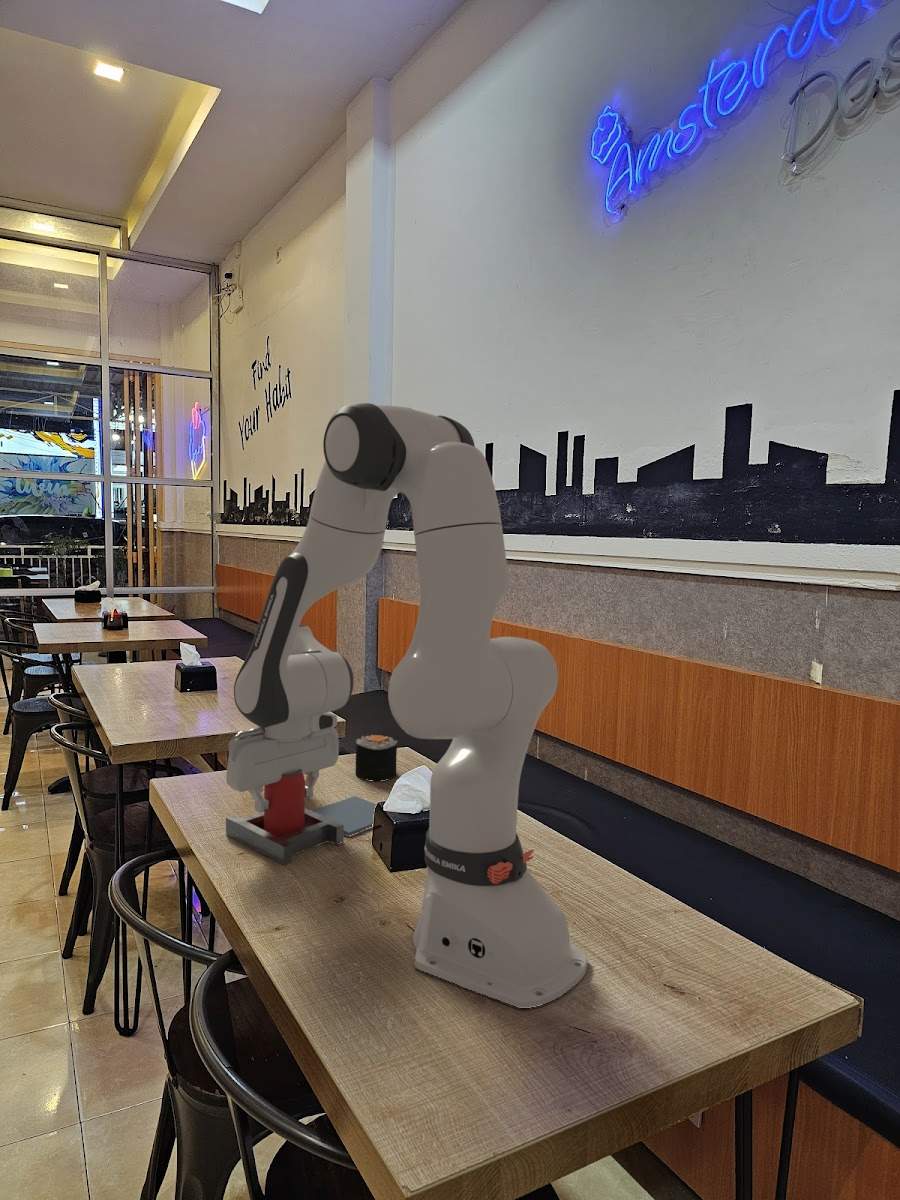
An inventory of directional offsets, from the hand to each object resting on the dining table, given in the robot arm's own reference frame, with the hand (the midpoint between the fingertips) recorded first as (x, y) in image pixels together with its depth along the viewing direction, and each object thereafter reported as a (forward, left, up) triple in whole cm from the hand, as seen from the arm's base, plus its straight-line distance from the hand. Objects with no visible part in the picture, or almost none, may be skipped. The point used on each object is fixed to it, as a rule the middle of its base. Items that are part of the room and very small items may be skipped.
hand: (284, 803), depth 128 cm
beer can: (0, 0, -6) cm, 6 cm away
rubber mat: (-1, -14, -6) cm, 15 cm away
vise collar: (0, 0, -6) cm, 6 cm away
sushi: (+13, -33, -6) cm, 36 cm away
